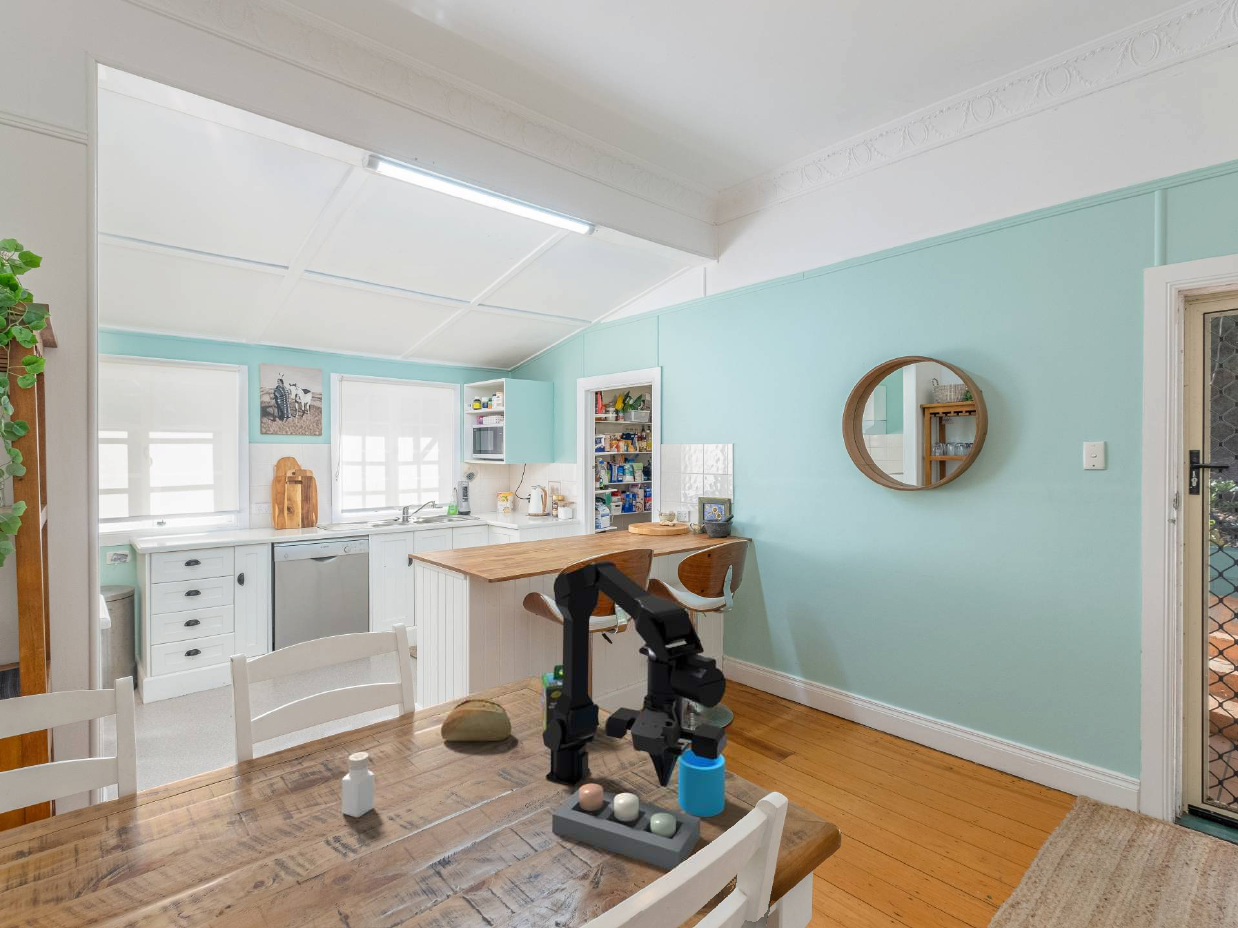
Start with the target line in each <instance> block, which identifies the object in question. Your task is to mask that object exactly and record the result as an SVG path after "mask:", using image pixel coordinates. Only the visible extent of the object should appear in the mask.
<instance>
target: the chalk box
mask: <svg viewBox="0 0 1238 928" xmlns="http://www.w3.org/2000/svg"><path fill="white" fill-rule="evenodd" d="M562 676H563V664H558V665H556V664H555V666H554V667H553V672H545V673H542V674H541V716H542V717H541V723H542V726H543V729H544V731H545V730H546V729H547V728H548V726H549V725H550V724H551V723H552V719H553V710H554V707H555V705H556V703H557V701H558V699H559V698H560V696H561V694H562ZM544 731H543V732H544Z"/></svg>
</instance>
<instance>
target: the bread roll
mask: <svg viewBox="0 0 1238 928" xmlns="http://www.w3.org/2000/svg"><path fill="white" fill-rule="evenodd" d="M511 732H512V723H511V719H510V717H509V716H508V714H507V711H506V709H505V708H504V707H503V706H502V705H501V704H499V702H497V701H495V700H492V699H487V698H472V699H467V700H465V701H462V702H461V703H458V704H457V705H456V706H455V708H453V709H452V710H451V711H450V713H449V714H448V715H447V717H446V718H445V720H444V721H443V723H442V725H441V727H440V733H441V737H442V739H443V740H446V741H448V742H449V741H450V742H453V741H457V742H458V741H459V742H460V741H461V742H462V741H464V742H465V741H468V742H469V741H473V742H474V741H479V742H480V741H485V742H488V741H492V742H493V741H494V742H495V741H503V740H506V738H508V737H509V736H510V734H511Z"/></svg>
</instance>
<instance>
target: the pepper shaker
mask: <svg viewBox="0 0 1238 928" xmlns="http://www.w3.org/2000/svg"><path fill="white" fill-rule="evenodd" d="M369 764H370V763H369V753H368V752H366V751H359V752H355V753H352V754H351V755H349V756H348V773H347V774H346V775H345V776H344V777H343V778H342V780H341V783H342V784H341V811H342V814H345V815H348V816H351V817H354V818H360V817H362V816H363V815H364V814H366V813H368V812H370V811H371V810H373V808H374V807H375V782H376V781H375V777H376V776H375V773H374V772H373V771H371V770H369V766H370V765H369Z"/></svg>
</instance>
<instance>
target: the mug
mask: <svg viewBox="0 0 1238 928" xmlns="http://www.w3.org/2000/svg"><path fill="white" fill-rule="evenodd" d="M725 783H726V759H725V757H724V756H723V754H722V753H721V754H720V755H719V757H718V758H717V759H713V760H712V759H707V758H703V757H698V756H696V755H695V754H694V753H693V752H692V750H691V748H687V750H686V751H685V752H684V753H683V754H682V755H681V756H679V757H678V791H677V792H678V795H677V796H678V799H677V801H678V802H677V803H678V806H679V807H680V809H681V810H682V811H684V813H685V814H688V815H691V816H695V817H699V818H702V817H705V818H708V817H709V818H710V817H714V816H718V815H719V814H721V813H722V812H723V811H724V809H725V800H726V799H725V797H726V796H725V793H726V792H725V790H726V788H725V787H726V786H725V785H726V784H725Z"/></svg>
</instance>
